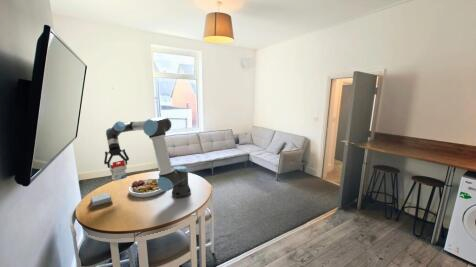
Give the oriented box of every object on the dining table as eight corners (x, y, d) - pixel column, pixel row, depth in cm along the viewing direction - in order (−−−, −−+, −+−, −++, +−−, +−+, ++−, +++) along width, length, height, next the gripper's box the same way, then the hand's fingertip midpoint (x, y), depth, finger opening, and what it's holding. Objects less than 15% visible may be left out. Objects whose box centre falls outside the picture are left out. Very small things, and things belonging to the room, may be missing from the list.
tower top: (111, 200, 152) (110, 197, 152) (93, 205, 145) (93, 202, 144) (108, 195, 160) (107, 192, 160) (91, 200, 153) (90, 196, 152)
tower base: (112, 205, 152) (112, 201, 151) (91, 211, 144) (90, 207, 143) (110, 198, 162) (110, 194, 161) (90, 203, 154) (90, 199, 154)
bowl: (173, 184, 188) (172, 176, 186) (157, 200, 158) (156, 190, 157) (142, 182, 191) (141, 174, 189) (121, 198, 161) (120, 189, 160)
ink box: (123, 176, 162) (121, 158, 160) (126, 178, 159) (124, 160, 157) (111, 179, 156) (109, 161, 153) (114, 181, 153) (112, 162, 150)
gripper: (128, 146, 172) (134, 169, 163) (97, 150, 159) (101, 175, 150) (129, 140, 167) (134, 164, 157) (97, 144, 154) (101, 170, 145)
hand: (118, 169), depth 154 cm, fingers closed on ink box, 9 cm apart
